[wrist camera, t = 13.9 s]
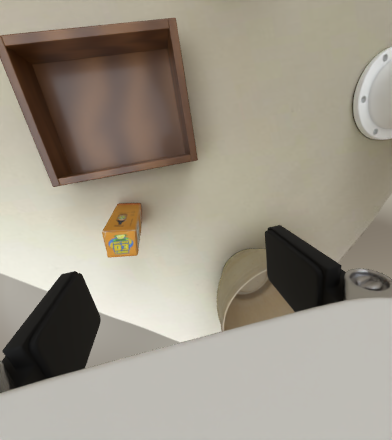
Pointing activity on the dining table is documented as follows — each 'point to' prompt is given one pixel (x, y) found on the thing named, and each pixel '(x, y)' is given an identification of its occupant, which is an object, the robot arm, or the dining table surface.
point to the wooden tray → (102, 98)
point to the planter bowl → (248, 291)
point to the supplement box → (123, 230)
